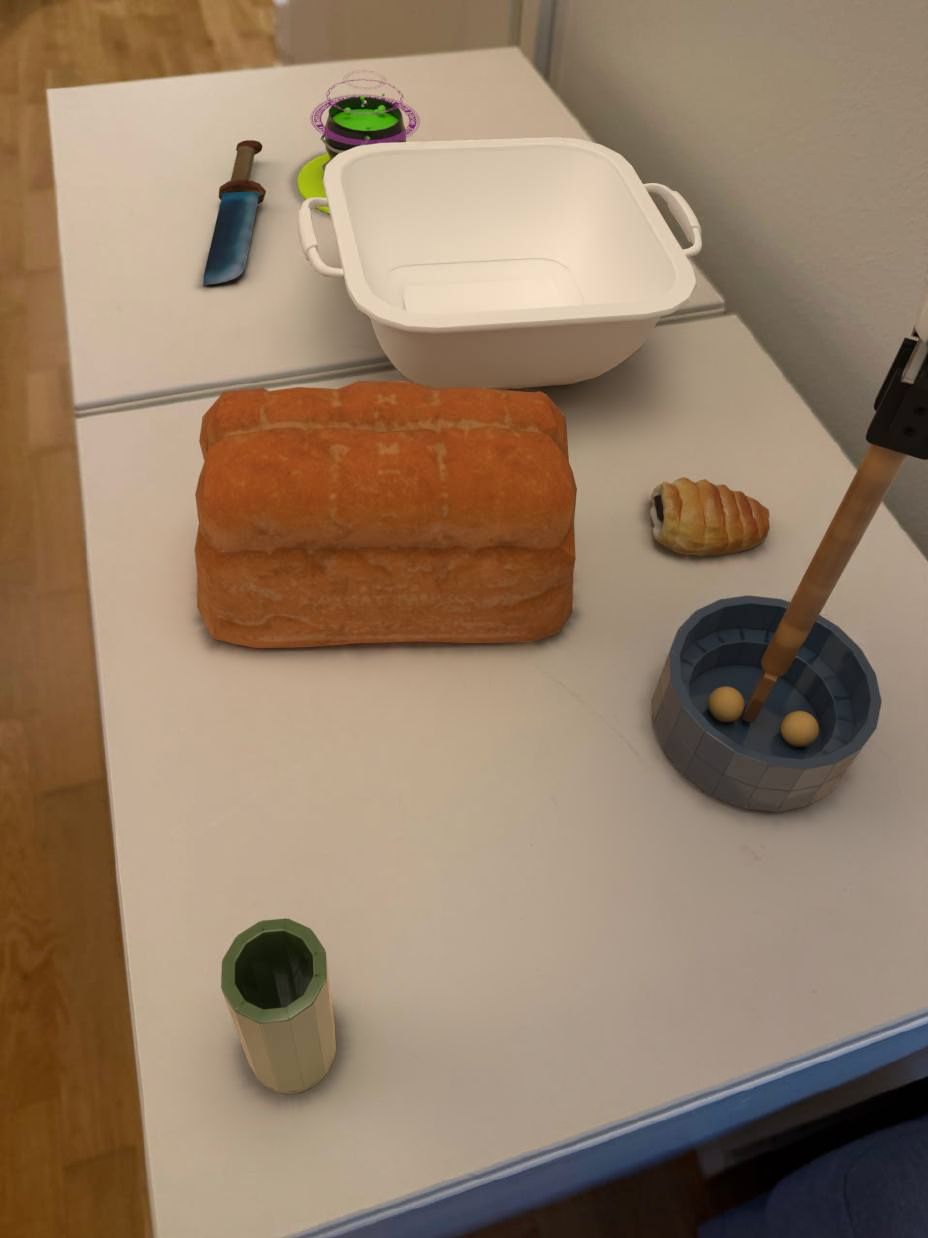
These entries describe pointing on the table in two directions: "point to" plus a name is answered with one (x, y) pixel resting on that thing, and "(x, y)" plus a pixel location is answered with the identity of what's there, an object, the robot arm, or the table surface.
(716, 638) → the bowl
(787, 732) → the chickpea
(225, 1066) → the table surface
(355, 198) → the baking dish
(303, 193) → the toy cauldron
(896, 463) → the wooden dowel rod
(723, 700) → the chickpea
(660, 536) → the pastry
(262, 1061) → the utensil pot
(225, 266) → the knife
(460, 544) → the bread
